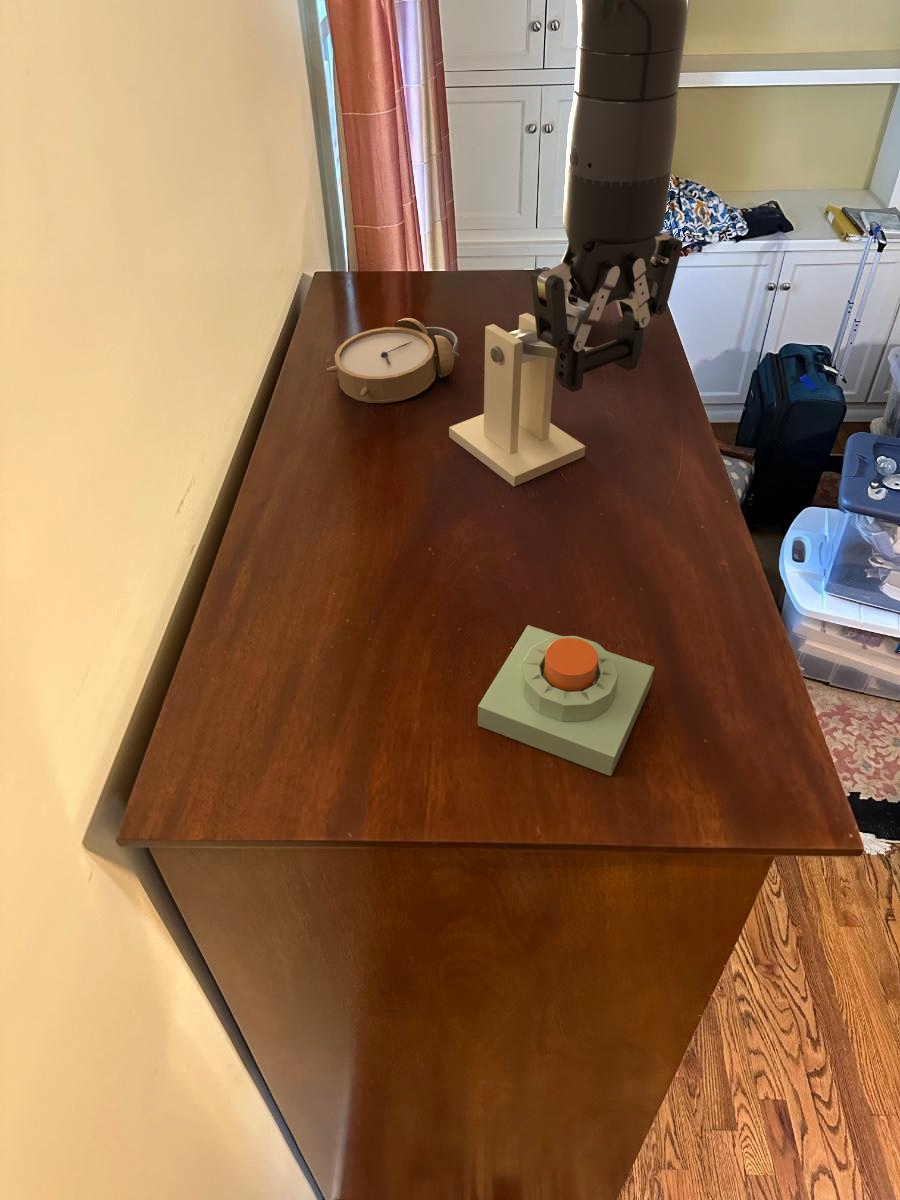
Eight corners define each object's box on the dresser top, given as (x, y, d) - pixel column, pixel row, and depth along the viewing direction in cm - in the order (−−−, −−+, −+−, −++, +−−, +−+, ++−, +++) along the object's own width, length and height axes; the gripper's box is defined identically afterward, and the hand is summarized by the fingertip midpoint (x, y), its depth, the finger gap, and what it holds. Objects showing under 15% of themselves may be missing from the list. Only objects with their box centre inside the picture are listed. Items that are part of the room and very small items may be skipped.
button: (602, 664, 61) (605, 646, 60) (585, 699, 59) (587, 682, 57) (555, 648, 62) (556, 630, 61) (536, 681, 60) (537, 664, 59)
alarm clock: (313, 352, 97) (419, 295, 102) (325, 388, 101) (427, 332, 105) (367, 392, 91) (478, 329, 95) (377, 429, 94) (483, 367, 99)
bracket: (584, 456, 87) (597, 336, 78) (514, 487, 83) (519, 365, 74) (517, 410, 93) (522, 295, 84) (448, 436, 89) (446, 319, 81)
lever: (632, 362, 73) (629, 333, 72) (583, 381, 71) (579, 352, 70) (535, 349, 83) (532, 324, 82) (490, 365, 81) (485, 340, 80)
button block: (650, 686, 64) (658, 649, 61) (611, 777, 58) (618, 740, 55) (526, 644, 67) (529, 607, 65) (477, 725, 62) (477, 688, 59)
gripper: (577, 194, 57) (561, 421, 68) (727, 154, 63) (690, 369, 74) (507, 168, 61) (503, 384, 73) (653, 133, 67) (629, 338, 78)
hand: (597, 375), depth 73 cm, fingers closed on lever, 5 cm apart
